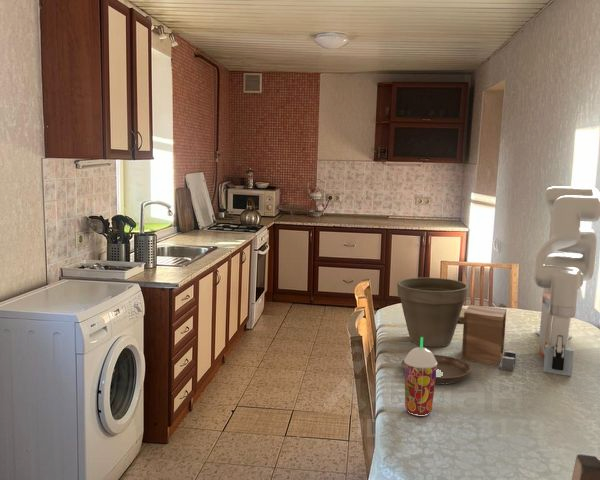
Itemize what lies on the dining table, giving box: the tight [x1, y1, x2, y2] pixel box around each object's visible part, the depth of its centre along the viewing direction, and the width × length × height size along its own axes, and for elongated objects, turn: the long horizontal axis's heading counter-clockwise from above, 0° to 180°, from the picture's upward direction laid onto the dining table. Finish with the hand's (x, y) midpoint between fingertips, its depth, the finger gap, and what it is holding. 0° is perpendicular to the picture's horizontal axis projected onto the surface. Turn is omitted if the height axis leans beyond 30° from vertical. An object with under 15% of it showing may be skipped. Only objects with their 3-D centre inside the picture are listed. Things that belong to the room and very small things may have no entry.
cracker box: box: [537, 293, 552, 359], centre depth 189 cm, size 14×6×21 cm, turn 168°
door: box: [542, 345, 574, 377], centre depth 176 cm, size 3×8×8 cm, turn 65°
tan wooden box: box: [461, 304, 507, 366], centre depth 189 cm, size 12×12×16 cm
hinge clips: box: [498, 350, 517, 372], centre depth 181 cm, size 8×4×4 cm, turn 155°
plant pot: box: [396, 277, 469, 348], centre depth 205 cm, size 25×25×22 cm
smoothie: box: [403, 337, 438, 415], centre depth 144 cm, size 8×8×20 cm
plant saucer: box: [400, 354, 471, 385], centre depth 173 cm, size 21×21×3 cm
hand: (557, 367), depth 177 cm, fingers closed on door, 3 cm apart
